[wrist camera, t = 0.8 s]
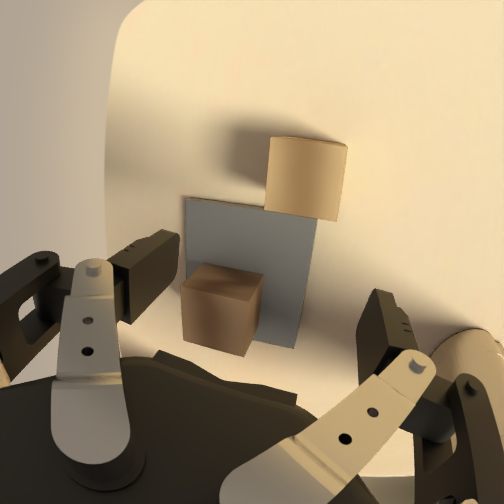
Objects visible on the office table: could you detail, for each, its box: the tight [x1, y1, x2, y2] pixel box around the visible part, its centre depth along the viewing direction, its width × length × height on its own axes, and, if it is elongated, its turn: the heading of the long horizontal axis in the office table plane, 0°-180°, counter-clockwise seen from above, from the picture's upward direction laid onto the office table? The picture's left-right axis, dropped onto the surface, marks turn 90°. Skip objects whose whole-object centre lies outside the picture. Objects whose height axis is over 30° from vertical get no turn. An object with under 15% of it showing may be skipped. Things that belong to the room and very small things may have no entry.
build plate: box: [186, 198, 317, 349], centre depth 30 cm, size 12×14×1 cm
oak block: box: [264, 136, 348, 222], centre depth 22 cm, size 5×5×6 cm
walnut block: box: [180, 262, 264, 357], centre depth 28 cm, size 6×6×5 cm
